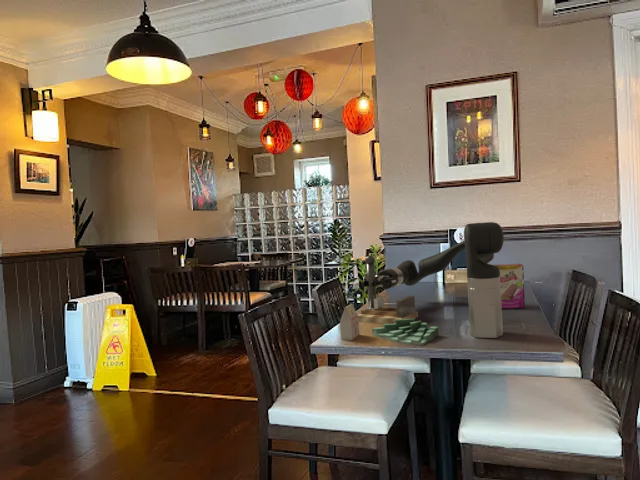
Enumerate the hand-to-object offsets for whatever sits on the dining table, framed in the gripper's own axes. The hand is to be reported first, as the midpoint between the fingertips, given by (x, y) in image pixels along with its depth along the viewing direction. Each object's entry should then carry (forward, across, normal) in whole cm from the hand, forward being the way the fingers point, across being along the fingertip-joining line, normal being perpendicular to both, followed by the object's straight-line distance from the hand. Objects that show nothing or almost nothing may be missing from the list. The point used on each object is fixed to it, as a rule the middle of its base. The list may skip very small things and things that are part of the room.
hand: (367, 284), depth 171 cm
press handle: (-3, +1, +11) cm, 11 cm away
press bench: (-3, +6, +13) cm, 14 cm away
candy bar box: (-36, +39, +13) cm, 55 cm away
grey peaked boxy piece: (+25, +8, +13) cm, 29 cm away
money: (+17, +22, +14) cm, 31 cm away
